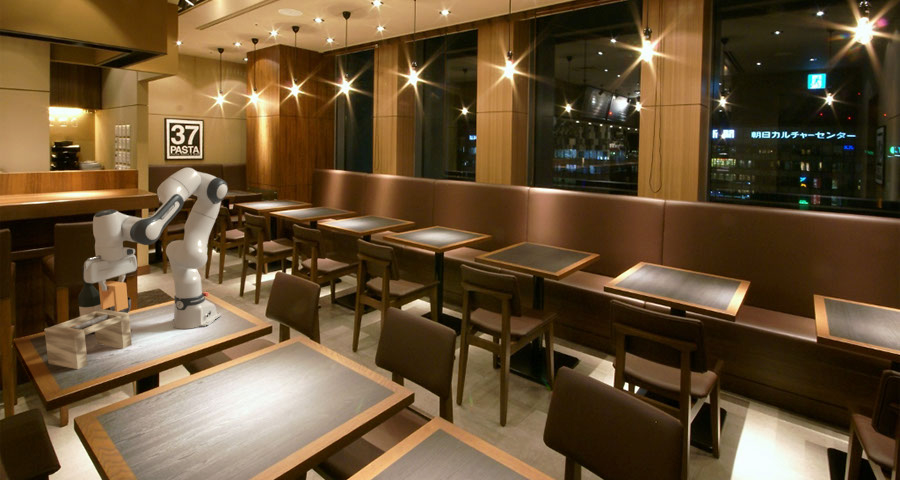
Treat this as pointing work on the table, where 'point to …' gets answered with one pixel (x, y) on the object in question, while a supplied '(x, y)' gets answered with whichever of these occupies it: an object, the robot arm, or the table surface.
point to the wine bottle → (88, 300)
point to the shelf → (70, 342)
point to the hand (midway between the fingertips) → (113, 288)
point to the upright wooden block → (114, 296)
